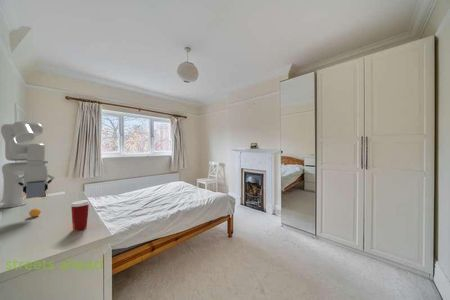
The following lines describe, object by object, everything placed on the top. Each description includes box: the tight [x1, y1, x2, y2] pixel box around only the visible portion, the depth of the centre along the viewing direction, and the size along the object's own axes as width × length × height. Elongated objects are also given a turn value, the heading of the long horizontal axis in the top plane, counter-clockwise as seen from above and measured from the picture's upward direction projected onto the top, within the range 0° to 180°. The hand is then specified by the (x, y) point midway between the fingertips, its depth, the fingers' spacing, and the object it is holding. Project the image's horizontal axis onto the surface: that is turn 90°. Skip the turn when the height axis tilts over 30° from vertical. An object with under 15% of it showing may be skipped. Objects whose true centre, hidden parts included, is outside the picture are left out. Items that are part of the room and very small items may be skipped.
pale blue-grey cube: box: [25, 181, 46, 200], centre depth 110 cm, size 8×8×9 cm
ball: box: [28, 207, 42, 218], centre depth 109 cm, size 5×5×5 cm
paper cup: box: [70, 199, 90, 232], centre depth 93 cm, size 8×8×14 cm
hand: (35, 191), depth 110 cm, fingers closed on pale blue-grey cube, 7 cm apart
